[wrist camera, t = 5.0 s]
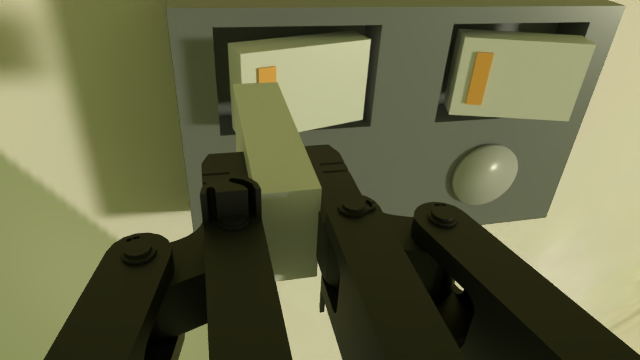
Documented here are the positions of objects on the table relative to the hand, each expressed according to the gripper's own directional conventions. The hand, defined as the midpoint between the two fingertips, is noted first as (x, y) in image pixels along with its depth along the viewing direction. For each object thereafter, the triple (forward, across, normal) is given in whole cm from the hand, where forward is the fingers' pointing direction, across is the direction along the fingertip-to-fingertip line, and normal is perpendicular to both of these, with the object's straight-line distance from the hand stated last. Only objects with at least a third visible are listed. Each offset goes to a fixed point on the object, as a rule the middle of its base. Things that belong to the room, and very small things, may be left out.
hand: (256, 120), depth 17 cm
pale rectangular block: (+3, -2, 0) cm, 4 cm away
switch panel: (+8, -7, +3) cm, 11 cm away
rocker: (+3, -12, 0) cm, 13 cm away
